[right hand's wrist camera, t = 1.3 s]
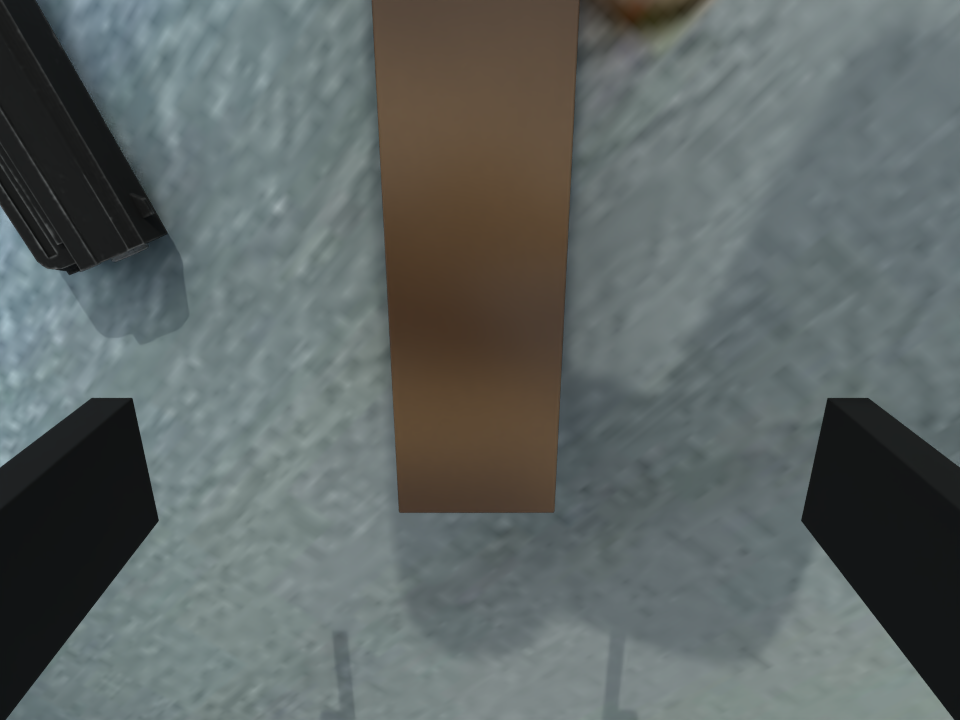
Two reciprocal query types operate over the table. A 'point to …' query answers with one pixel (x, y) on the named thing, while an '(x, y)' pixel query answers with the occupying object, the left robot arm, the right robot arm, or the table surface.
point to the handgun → (62, 155)
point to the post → (476, 244)
